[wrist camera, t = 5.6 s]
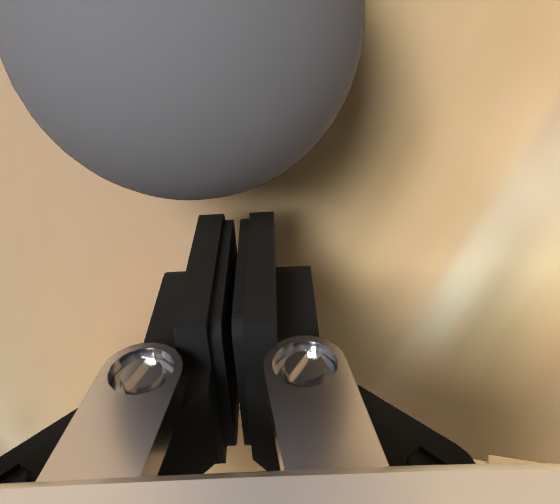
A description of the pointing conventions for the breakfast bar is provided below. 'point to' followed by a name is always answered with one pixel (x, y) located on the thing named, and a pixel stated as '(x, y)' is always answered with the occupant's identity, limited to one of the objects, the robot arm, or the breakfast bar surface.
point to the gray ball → (183, 85)
